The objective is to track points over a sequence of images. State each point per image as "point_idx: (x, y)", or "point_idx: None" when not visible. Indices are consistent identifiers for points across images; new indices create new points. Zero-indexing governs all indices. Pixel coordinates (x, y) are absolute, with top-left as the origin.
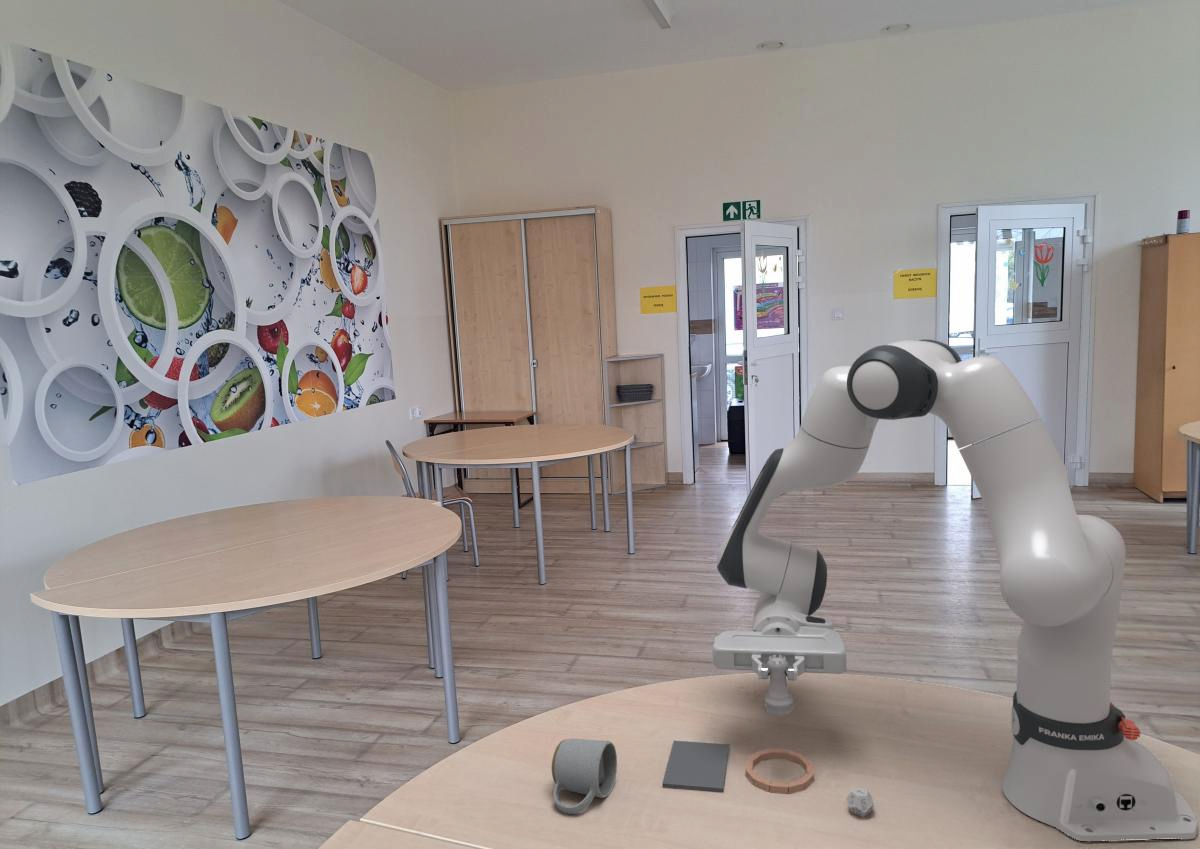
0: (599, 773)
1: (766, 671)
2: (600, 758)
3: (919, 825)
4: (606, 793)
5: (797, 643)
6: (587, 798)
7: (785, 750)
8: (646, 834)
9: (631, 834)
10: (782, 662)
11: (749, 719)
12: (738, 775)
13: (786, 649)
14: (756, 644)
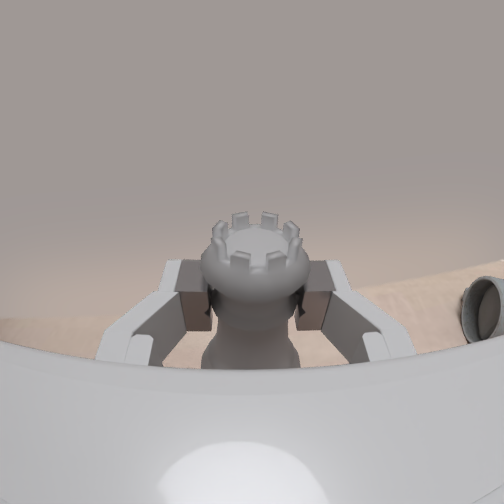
0: (483, 313)
1: None
2: (485, 278)
3: (71, 336)
4: (465, 326)
5: (88, 481)
6: (466, 291)
7: None
8: (392, 289)
9: (405, 286)
10: (230, 236)
11: None
12: None
13: (194, 381)
14: (440, 419)
